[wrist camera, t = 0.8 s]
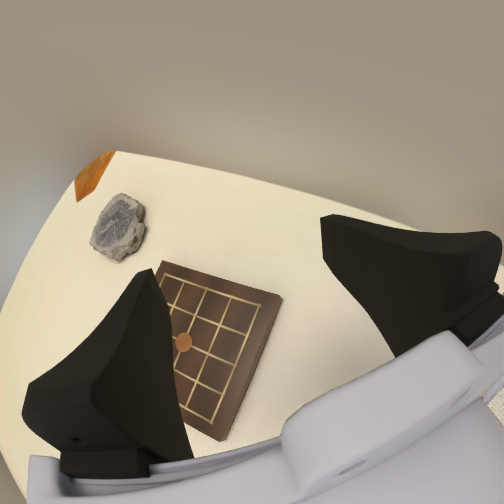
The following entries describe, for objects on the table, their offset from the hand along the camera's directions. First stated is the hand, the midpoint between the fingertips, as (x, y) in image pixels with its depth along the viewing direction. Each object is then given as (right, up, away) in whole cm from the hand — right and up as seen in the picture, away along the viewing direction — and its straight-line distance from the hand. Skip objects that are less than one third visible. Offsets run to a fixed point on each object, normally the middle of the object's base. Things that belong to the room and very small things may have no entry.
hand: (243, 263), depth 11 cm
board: (-6, -9, +16) cm, 20 cm away
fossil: (-19, +3, +28) cm, 34 cm away
